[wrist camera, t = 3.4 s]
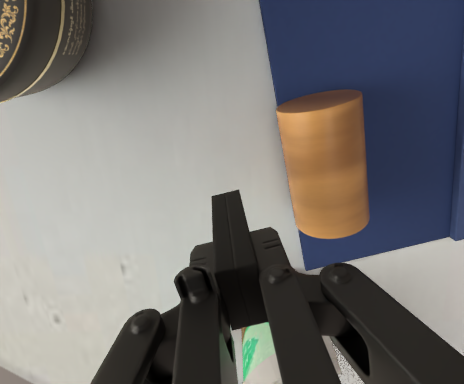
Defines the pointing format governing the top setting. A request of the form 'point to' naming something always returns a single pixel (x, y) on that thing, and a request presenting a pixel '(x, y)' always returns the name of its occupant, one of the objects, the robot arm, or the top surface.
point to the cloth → (383, 108)
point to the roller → (326, 162)
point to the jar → (40, 43)
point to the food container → (267, 355)
